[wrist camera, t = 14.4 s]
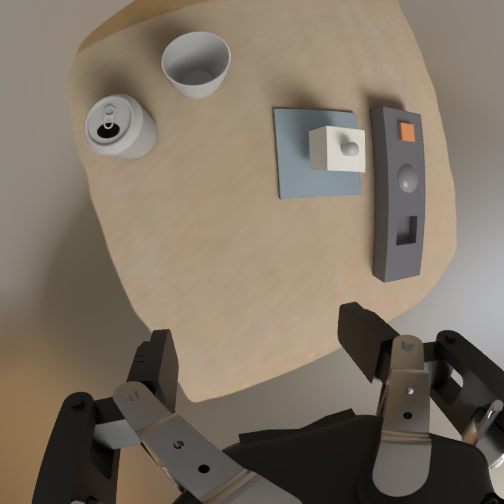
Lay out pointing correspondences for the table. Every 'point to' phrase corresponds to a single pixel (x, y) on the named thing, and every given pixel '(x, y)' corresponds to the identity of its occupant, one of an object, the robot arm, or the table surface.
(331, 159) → the block
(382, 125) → the power strip
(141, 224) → the table surface
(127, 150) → the can
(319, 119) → the mat
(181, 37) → the cup
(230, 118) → the table surface
